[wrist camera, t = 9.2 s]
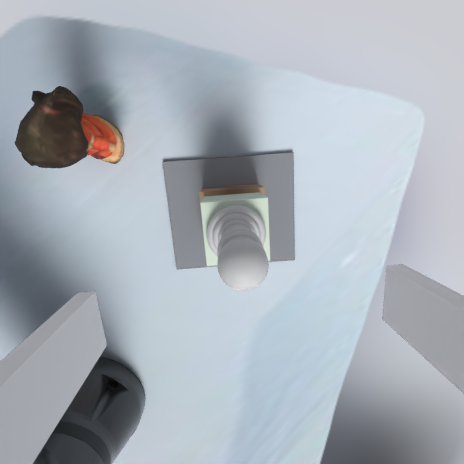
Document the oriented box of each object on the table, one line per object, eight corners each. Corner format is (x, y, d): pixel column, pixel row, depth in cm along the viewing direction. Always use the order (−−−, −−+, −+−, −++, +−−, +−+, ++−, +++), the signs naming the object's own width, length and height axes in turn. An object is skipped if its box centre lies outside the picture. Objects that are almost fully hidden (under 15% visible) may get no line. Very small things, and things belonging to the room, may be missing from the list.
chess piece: (268, 256, 25) (294, 305, 16) (212, 264, 25) (207, 319, 16) (261, 200, 23) (285, 220, 14) (202, 209, 23) (190, 235, 14)
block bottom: (207, 241, 34) (205, 254, 30) (202, 188, 33) (199, 192, 28) (260, 237, 34) (266, 249, 30) (258, 184, 33) (264, 187, 28)
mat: (177, 268, 36) (176, 269, 35) (163, 161, 32) (162, 161, 32) (293, 258, 36) (294, 259, 35) (292, 152, 32) (293, 152, 32)
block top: (209, 249, 29) (206, 266, 25) (204, 196, 28) (200, 202, 23) (262, 245, 30) (270, 261, 25) (259, 192, 28) (267, 197, 23)
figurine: (70, 114, 30) (-24, 83, 19) (118, 108, 30) (54, 73, 19) (84, 170, 32) (6, 172, 20) (130, 164, 32) (78, 163, 20)
